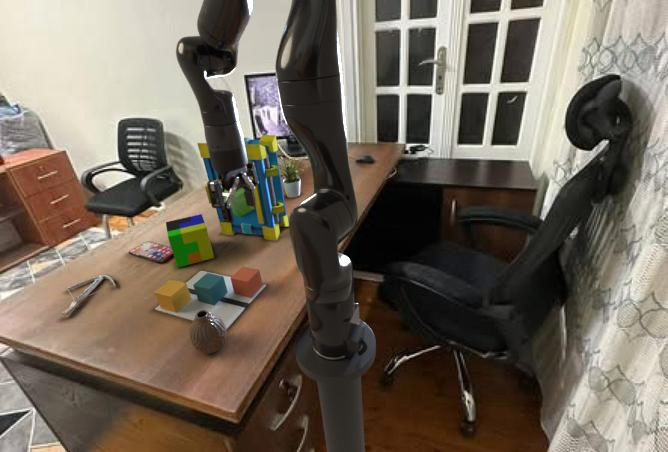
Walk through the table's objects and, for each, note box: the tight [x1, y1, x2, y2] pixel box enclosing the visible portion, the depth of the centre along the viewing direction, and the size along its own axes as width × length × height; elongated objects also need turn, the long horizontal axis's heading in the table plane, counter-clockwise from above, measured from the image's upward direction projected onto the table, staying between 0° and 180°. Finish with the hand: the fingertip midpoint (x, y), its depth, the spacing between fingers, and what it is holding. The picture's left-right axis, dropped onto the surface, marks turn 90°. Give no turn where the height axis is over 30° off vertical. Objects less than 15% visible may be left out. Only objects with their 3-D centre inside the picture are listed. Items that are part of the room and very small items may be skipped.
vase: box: [189, 310, 228, 355], centre depth 70 cm, size 7×7×9 cm
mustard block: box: [154, 279, 192, 313], centre depth 83 cm, size 5×5×5 cm
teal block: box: [193, 272, 228, 305], centre depth 84 cm, size 5×5×5 cm
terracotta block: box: [230, 266, 264, 298], centre depth 86 cm, size 5×5×5 cm
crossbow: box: [61, 274, 117, 318], centre depth 90 cm, size 16×13×2 cm
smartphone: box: [128, 241, 174, 264], centre depth 106 cm, size 7×1×15 cm
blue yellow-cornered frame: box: [196, 134, 289, 241], centre depth 107 cm, size 14×23×30 cm, turn 70°
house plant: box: [278, 156, 306, 199], centre depth 134 cm, size 14×14×16 cm
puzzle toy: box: [165, 213, 215, 269], centre depth 101 cm, size 10×10×10 cm
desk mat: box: [154, 270, 267, 331], centre depth 86 cm, size 21×16×1 cm
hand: (241, 213), depth 81 cm, fingers open, 8 cm apart
